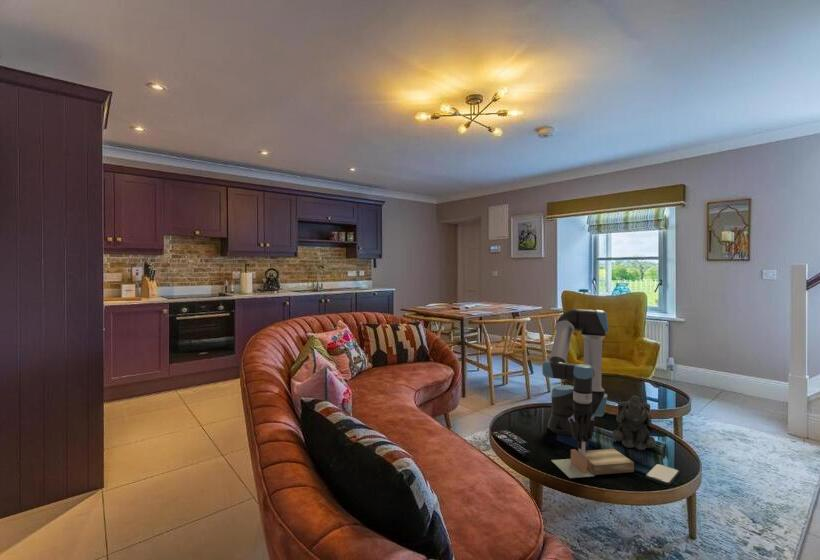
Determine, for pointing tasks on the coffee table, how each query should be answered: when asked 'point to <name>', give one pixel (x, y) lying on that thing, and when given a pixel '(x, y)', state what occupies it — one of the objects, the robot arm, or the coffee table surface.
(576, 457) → the salmon orange slab
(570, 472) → the mat
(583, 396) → the robot arm
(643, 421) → the stuffed elephant
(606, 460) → the wooden block
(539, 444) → the coffee table surface
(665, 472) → the phone case
